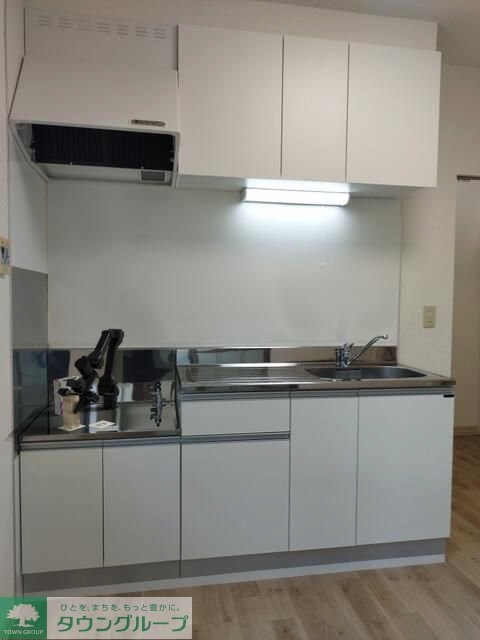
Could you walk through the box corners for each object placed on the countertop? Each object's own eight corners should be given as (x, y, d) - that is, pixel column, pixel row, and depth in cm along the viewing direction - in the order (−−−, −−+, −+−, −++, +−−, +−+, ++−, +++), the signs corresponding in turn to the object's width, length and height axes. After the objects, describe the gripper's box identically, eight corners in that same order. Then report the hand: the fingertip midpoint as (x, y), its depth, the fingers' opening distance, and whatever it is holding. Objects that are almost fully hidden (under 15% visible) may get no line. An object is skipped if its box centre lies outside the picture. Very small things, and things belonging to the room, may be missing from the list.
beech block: (71, 424, 193) (70, 394, 192) (79, 425, 192) (78, 395, 190) (63, 427, 189) (62, 397, 188) (71, 429, 187) (70, 398, 186)
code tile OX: (87, 425, 192) (87, 425, 192) (102, 420, 199) (102, 420, 199) (100, 429, 188) (100, 428, 188) (115, 423, 195) (115, 423, 195)
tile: (57, 428, 189) (57, 427, 189) (73, 423, 196) (73, 422, 196) (69, 431, 185) (69, 431, 185) (85, 426, 192) (85, 425, 192)
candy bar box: (74, 408, 218) (73, 375, 217) (81, 410, 215) (80, 376, 214) (54, 414, 209) (52, 379, 207) (61, 416, 206) (59, 380, 205)
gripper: (59, 369, 196) (40, 400, 186) (94, 372, 188) (75, 405, 179) (73, 383, 204) (55, 414, 194) (107, 387, 196) (90, 419, 187)
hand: (68, 412), depth 189 cm, fingers open, 6 cm apart
